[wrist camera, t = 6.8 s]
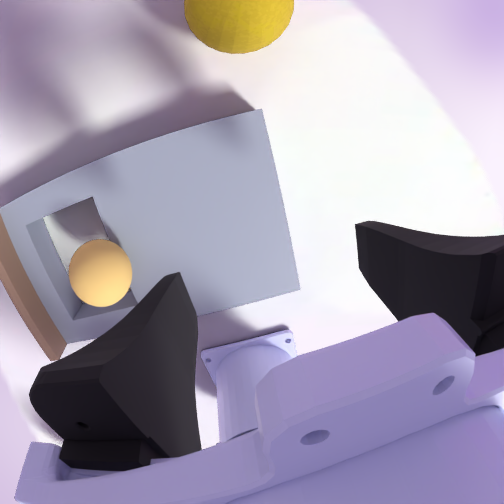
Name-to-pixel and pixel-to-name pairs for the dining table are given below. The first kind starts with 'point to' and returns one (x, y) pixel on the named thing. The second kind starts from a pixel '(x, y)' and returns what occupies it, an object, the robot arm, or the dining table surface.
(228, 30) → the lemon
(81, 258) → the ball
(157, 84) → the dining table surface
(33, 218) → the grey piece
